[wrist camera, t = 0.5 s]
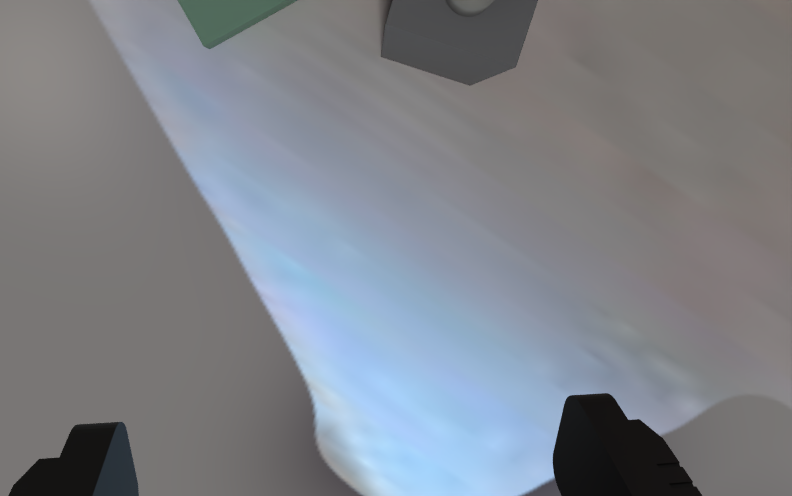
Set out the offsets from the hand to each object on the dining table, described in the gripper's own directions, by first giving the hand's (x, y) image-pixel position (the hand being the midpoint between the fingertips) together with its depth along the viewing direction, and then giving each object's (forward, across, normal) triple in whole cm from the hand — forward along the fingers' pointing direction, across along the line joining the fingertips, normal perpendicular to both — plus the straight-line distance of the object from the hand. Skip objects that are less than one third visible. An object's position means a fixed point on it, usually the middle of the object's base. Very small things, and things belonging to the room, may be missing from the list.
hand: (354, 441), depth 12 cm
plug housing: (+26, -6, -3) cm, 27 cm away
